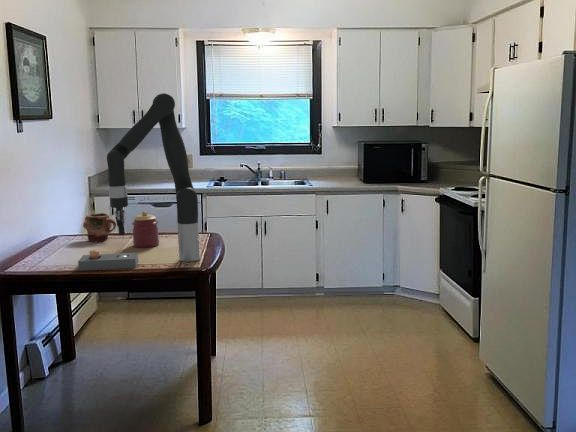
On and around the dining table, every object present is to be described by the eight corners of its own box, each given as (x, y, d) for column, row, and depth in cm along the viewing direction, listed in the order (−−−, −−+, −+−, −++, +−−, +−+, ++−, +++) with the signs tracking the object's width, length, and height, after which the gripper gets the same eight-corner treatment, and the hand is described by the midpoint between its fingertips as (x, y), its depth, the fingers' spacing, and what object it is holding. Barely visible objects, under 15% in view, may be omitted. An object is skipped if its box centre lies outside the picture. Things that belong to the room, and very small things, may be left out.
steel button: (128, 261, 276) (127, 255, 275) (127, 263, 272) (126, 257, 271) (119, 262, 275) (118, 255, 275) (118, 264, 271) (117, 257, 271)
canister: (161, 246, 310) (159, 212, 307) (135, 249, 306) (133, 214, 303) (157, 241, 322) (155, 208, 319) (131, 244, 317) (129, 210, 314)
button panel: (138, 261, 281) (137, 252, 280) (135, 267, 269) (135, 258, 268) (83, 263, 277) (83, 255, 276) (78, 270, 265) (78, 261, 265)
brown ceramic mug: (123, 238, 331) (122, 213, 329) (111, 243, 320) (110, 217, 317) (90, 237, 336) (88, 212, 334) (77, 242, 325) (75, 216, 322)
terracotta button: (100, 256, 274) (99, 249, 273) (98, 258, 270) (98, 251, 269) (90, 256, 273) (90, 250, 273) (89, 258, 269) (88, 252, 269)
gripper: (125, 197, 263) (129, 237, 266) (128, 193, 275) (132, 231, 278) (107, 198, 262) (111, 238, 265) (111, 194, 274) (115, 232, 277)
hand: (121, 235), depth 271 cm, fingers closed
